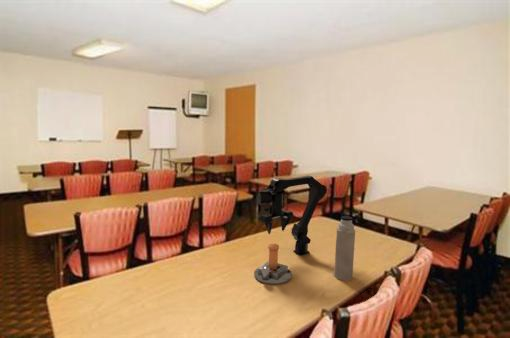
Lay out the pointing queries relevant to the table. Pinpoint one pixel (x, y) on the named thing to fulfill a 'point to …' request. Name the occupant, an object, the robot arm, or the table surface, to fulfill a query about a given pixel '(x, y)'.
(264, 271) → the grey peg hole base
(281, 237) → the table surface
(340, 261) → the thermos bottle
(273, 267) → the wooden peg
